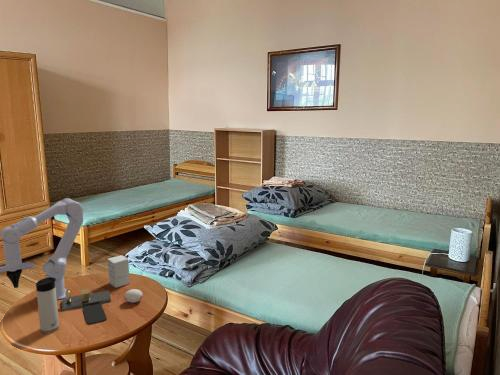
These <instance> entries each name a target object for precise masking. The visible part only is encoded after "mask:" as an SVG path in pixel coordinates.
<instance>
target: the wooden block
mask: <svg viewBox="0 0 500 375" xmlns="http://www.w3.org/2000/svg"><path fill="white" fill-rule="evenodd" d="M89 294H90V290H89V288H82V289H80V295H81V298H82V302H84V301H89Z"/></svg>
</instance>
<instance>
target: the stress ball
mask: <svg viewBox="0 0 500 375" xmlns="http://www.w3.org/2000/svg"><path fill="white" fill-rule="evenodd" d="M123 296H124V300H125V301H126V302H128V303H131V305H132V306H135V304H134V303H138V302H140V301H141V300H142V298H143V292H142V290H140V289H136V288H135V289H134V288H133V289H129V290H127V291H126V292H125V293H124V295H123Z"/></svg>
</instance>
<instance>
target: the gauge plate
mask: <svg viewBox="0 0 500 375" xmlns="http://www.w3.org/2000/svg"><path fill="white" fill-rule="evenodd" d="M65 292H66V298H62V299H61V311H68V310H74V309H78V308H83V307H86V306H91V305H95V304H101V305H102V304H105V303H111V302H112V299H111V295H110V290H103V291H96V292H92V293H91V292H89V301H84V302H82V298H81V294H80V295H74V296H71V290H69V289H66V291H65Z"/></svg>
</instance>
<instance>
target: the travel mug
mask: <svg viewBox="0 0 500 375" xmlns="http://www.w3.org/2000/svg"><path fill="white" fill-rule="evenodd" d="M55 281H56V278H53V277H49V278H41V279H40V280H38V281H37V282H36V283H35V288H36V300H37V309H38V317H39V328H40V332H41V333H43V334H50V333H54V332H55V331H57V330H58V329H59V328H60V323H59V322H60V321H59V311H58V310H59V309H58V299H57V298H56V288H55Z"/></svg>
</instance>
